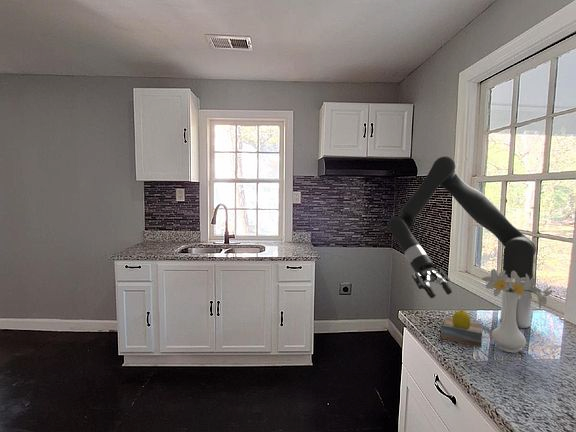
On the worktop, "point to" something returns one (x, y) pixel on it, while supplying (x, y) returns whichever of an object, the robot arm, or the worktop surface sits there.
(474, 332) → the stop board
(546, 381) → the worktop surface
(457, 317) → the lemon
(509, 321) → the flower vase
